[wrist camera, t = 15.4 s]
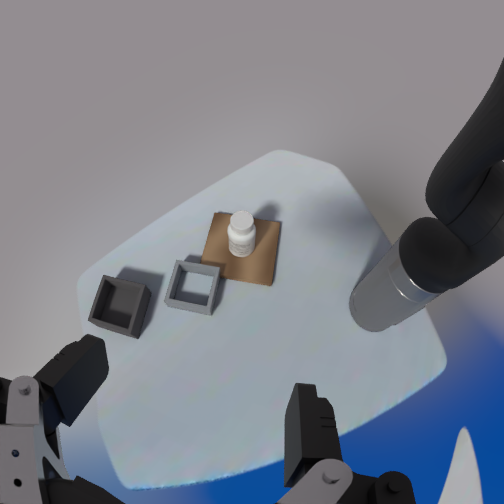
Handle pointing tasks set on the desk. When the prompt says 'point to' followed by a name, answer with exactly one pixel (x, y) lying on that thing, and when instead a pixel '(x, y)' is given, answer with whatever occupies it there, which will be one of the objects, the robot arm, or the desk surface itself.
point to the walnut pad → (242, 268)
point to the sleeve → (194, 269)
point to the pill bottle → (241, 234)
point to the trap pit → (120, 306)
